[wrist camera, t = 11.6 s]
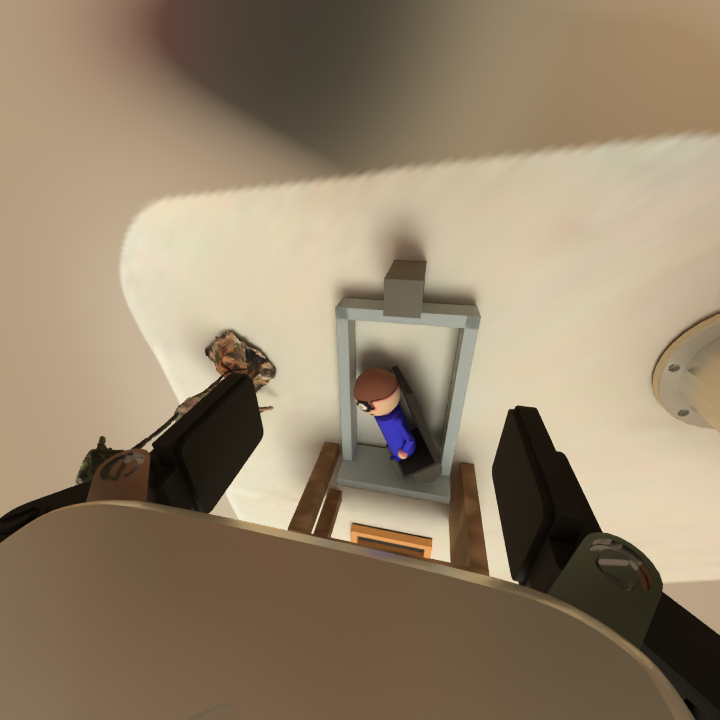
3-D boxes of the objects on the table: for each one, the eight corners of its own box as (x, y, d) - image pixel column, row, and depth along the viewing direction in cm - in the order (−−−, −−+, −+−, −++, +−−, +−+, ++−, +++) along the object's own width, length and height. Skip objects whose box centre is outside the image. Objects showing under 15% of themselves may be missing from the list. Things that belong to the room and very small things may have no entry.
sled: (484, 263, 28) (498, 284, 22) (447, 464, 41) (449, 512, 35) (341, 258, 30) (319, 275, 25) (348, 449, 43) (334, 491, 37)
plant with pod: (250, 409, 44) (134, 548, 27) (200, 342, 40) (27, 457, 23) (294, 393, 41) (195, 541, 24) (245, 320, 37) (83, 433, 20)
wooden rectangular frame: (432, 538, 49) (431, 547, 48) (428, 556, 52) (428, 565, 51) (352, 522, 52) (350, 530, 50) (353, 540, 54) (351, 548, 53)
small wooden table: (473, 464, 40) (491, 589, 28) (460, 521, 46) (469, 646, 33) (325, 442, 44) (281, 543, 31) (329, 497, 50) (294, 601, 37)
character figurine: (398, 451, 42) (357, 358, 37) (452, 447, 39) (417, 344, 34) (386, 501, 36) (335, 397, 30) (449, 500, 33) (405, 384, 27)
